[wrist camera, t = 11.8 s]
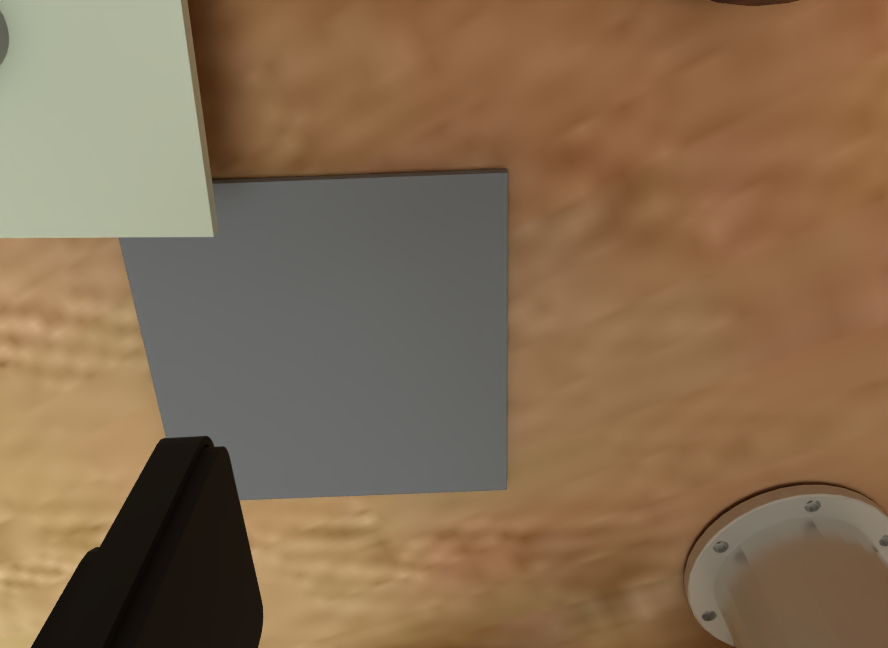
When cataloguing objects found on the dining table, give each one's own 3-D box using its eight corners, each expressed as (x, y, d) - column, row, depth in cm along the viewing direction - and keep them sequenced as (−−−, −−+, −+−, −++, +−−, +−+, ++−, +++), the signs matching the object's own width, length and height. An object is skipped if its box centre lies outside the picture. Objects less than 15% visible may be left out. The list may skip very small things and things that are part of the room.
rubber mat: (505, 482, 44) (506, 489, 44) (184, 495, 44) (181, 502, 44) (506, 168, 36) (508, 172, 35) (111, 183, 36) (106, 187, 35)
